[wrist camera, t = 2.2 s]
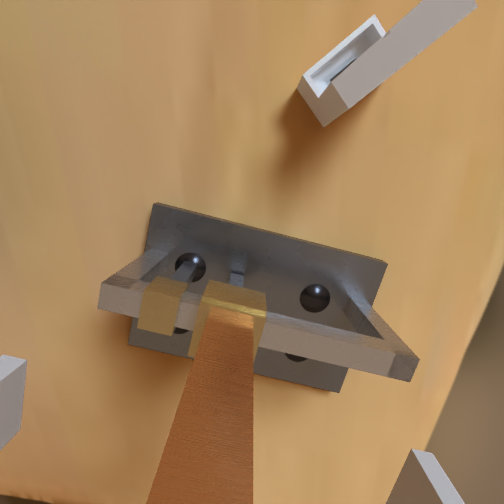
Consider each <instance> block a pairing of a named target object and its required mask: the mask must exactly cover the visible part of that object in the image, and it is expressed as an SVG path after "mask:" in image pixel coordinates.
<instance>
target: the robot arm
mask: <svg viewBox="0 0 504 504" xmlns="http://www.w3.org/2000/svg"><path fill="white" fill-rule="evenodd" d="M26 367H27V360H25V359H21V358H16V357H12V356H8V355H2V356H1V357H0V450H1V449H2V448H3V447H4V446H5V445H6V444H7V443H8V442H9V441H10V440H11V439H12V438H13V437H14V436H15V435H16V433H17V432H18V431H19V430H20V429H21V418H22V408H23V398H24V388H25V378H26ZM386 504H465V503H464V502H463V500H462V498H461V497H460V496H459V494H458V492H457V491H456V489H455V488H454V486H453V485H452V483H451V481H450V480H449V478H448V477H447V475H446V474H445V472H444V471H443V469H442V468H441V466H440V464H439V463H438V461H437V460H436V458H435V457H434V455H433V454H432V453H428V452H424V451H420V450H416V449H411V450H410V453H409V455H408V457H407V459H406V461H405V463H404V466H403V468H402V470H401V472H400V474H399V476H398V479H397V481H396V483H395V485H394V487H393V489H392V491H391V494H390V496H389V498H388V500H387V502H386Z"/></svg>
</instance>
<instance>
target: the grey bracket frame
mask: <svg viewBox="0 0 504 504" xmlns="http://www.w3.org/2000/svg"><path fill="white" fill-rule="evenodd" d="M168 256H169V253H168V252H164V251H160V250H156V249H152V248H151V249H150V250H148V251H147V252H146V253H144V254H143V255H141V256H140V257H138V258H137V259H135V260H134V261H132V262H131V263H129V264H128V265H127V266H125V267H124V268H122V269H121V270H119V271H118V272H116V273H115V274H113V275H112V276H111V277H109V278H108V279H106V280H105V281H103V282H102V283H101V288H100V295H99V302H98V309H102V310H106V311H110V312H115V313H119V314H123V315H127V316H131V317H136V318H139V320H138V325H137V328H139V329H143V330H147V331H151V332H156V333H160V334H164V335H168V336H172V334H173V333H174V331H175V329H176V327H178V328H182V329H187V330H191V331H193V330H194V326H195V322H196V317H197V313H198V309H199V305H200V302H201V299H202V295H198V294H194V293H190V292H187V290H188V287H189V285H190V283H191V282H192V280H193V278H194V277H195V275H196V270H197V266H198V263H194V262H190V261H186V260H185V261H184V262H183V263H182V265H181V266H180V267H179V268H178V269H177V271H176V272H175V273H174V274H173V275H172V277H171V278H170V279H168V278H164V277H160V276H161V275H162V274H163V273H164V272H165V271H166V266H167V261H168ZM345 315H346V317H347V318H348V320H349V321H350V323H351V324H352V326H353V327H354V329H355V330H356V332H357V333H355V332H350V331H346V330H342V329H338V328H334V327H330V326H326V325H322V324H318V323H313V322H309V321H305V320H301V319H297V318H293V317H289V316H285V315H280V314H276V313H272V312H268V311H267V313H266V322H265V325H264V329H263V332H262V336H261V339H260V343H259V347H263V348H267V349H271V350H275V351H280V352H284V353H288V354H292V355H297V356H301V357H305V358H309V359H314V360H318V361H322V362H326V363H331V364H335V365H339V366H343V367H347V368H352V369H356V370H360V371H364V372H369V373H373V374H377V375H381V376H386V377H390V378H394V379H398V380H403V381H407V382H410V381H411V378H412V376H413V374H414V372H415V369H416V367H417V365H418V362H419V360H420V359H419V358H418V357H417V356H416V355H415V354H414V353H413V351H412V350H411V349H410V348H409V347H408V346H407V345H406V344H405V343H404V342H403V341H402V339H401V338H400V337H399V336H398V335H397V334H396V333H395V332H394V331H393V330H392V329H391V327H390V326H389V325H388V324H387V323H386V322H385V321H384V320H383V319H382V318H381V317H380V315H379V314H378V313H377V312H376V311H375V310H374V309H373V308H372V307H371V306H370V305H369V303H368V302H364V301H360V300H356V299H352V298H351V299H350V302H349V305H348V308H347V311H346V313H345Z"/></svg>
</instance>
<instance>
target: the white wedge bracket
mask: <svg viewBox="0 0 504 504" xmlns="http://www.w3.org/2000/svg"><path fill="white" fill-rule="evenodd" d="M477 7H478V6H477V4H476V2H475V0H422V1H421V2H420V3H419V4H418V5H417V6H416V7H415V8H414V9H412V10H411V11H410V12H409V13H408V14H407V15H406V16H405V17H403V18H402V19H401V20H400V21H399V22H398V23H397V24H396V25H394V26H393V27H392V28H391V29H390V30H389V31H388V32H387V33H386V32H385V31H384V29H383V27H382V26H381V24H380V22H379V21H378V19H377V17H376V16H375V14H374V15H373V16H372V17H370V18H369V19H368V20H367V21H366V22H365V23H363V24H362V25H361V26H360V27H359V28H357V29H356V30H355V31H354V32H353V33H352V34H350V35H349V36H348V37H347V38H346V39H345V40H343V41H342V42H341V43H340V44H339V45H337V46H336V47H335V48H334V49H333V50H332V51H330V52H329V53H328V54H327V55H326V56H324V57H323V58H322V59H321V60H320V61H319V62H317V63H316V64H315V65H314V66H313V67H311V68H310V69H309V70H308V71H307V72H306V73H304V74H303V75H302V77H301V80H300V82H299V84H298V86H297V88H296V89H297V90H298V91H299V93H300V94H301V96H302V97H303V99H304V100H305V102H306V103H307V105H308V106H309V107H310V109H311V110H312V112H313V113H314V115H315V116H316V118H317V119H318V121H319V122H320V123H321V125H322V126H323V128H324V127H325V126H327V125H328V124H329V123H331V122H332V121H333V120H335V119H336V118H337V117H339V116H340V115H342V114H343V113H344V112H346V111H347V110H348V109H350V108H351V107H352V106H353V105H355V104H356V103H357V102H359V101H360V100H361V99H362V98H364V97H365V96H366V95H367V94H369V93H370V92H371V91H372V90H374V89H375V88H376V87H377V86H379V85H380V84H381V83H383V82H384V81H385V80H386V79H388V78H389V77H390V76H391V75H393V74H394V73H395V72H396V71H398V70H399V69H400V68H401V67H403V66H404V65H405V64H406V63H408V62H409V61H410V60H412V59H413V58H414V57H415V56H417V55H418V54H419V53H420V52H422V51H423V50H424V49H425V48H427V47H428V46H429V45H430V44H432V43H433V42H434V41H435V40H437V39H438V38H439V37H441V36H442V35H443V34H444V33H446V32H447V31H448V30H449V29H451V28H452V27H453V26H454V25H456V24H457V23H458V22H459V21H461V20H462V19H463V18H465V17H466V16H467V15H468V14H470V13H471V12H472V11H473V10H475V9H476V8H477ZM343 70H344V71H343ZM342 71H343V72H342ZM341 72H342V73H341ZM340 73H341V74H340ZM339 74H340V75H339ZM337 75H338V76H337ZM336 76H337V77H336ZM335 77H336V78H335ZM334 78H335V79H334ZM333 79H334V80H333ZM331 80H333V81H332V82H331Z"/></svg>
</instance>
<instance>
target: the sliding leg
mask: <svg viewBox="0 0 504 504" xmlns="http://www.w3.org/2000/svg"><path fill="white" fill-rule="evenodd" d="M243 282H244V276H242V275H238V274H234V273H231V276H230V280H229V284H227V283H222V282H218V281H214V280H210V279H209V282H208V284H207V286H206V289H205V291H204V293H203V295H202V299H201V302H200V305H199V309H198V313H197V317H196V322H195V326H194V330H193V334H192V339H191V343H190V347H189V351H188V356H190V357H194V361H193V364H192V367H191V370H190V373H189V376H188V379H187V382H186V385H185V388H184V391H183V394H182V397H181V400H180V403H179V406H178V409H177V412H176V415H175V418H174V421H173V424H172V427H171V430H170V433H169V436H168V439H167V442H166V445H165V448H164V451H163V454H162V457H161V460H160V463H159V467H158V470H157V473H156V476H155V479H154V482H153V485H152V488H151V491H150V494H149V497H148V500H147V503H146V504H253V363H254V360H255V356H256V353H257V349H258V346H259V343H260V339H261V336H262V332H263V329H264V325H265V322H266V313H267V307H266V297H265V293H263V292H259V291H255V290H251V289H247V288H243Z"/></svg>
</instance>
